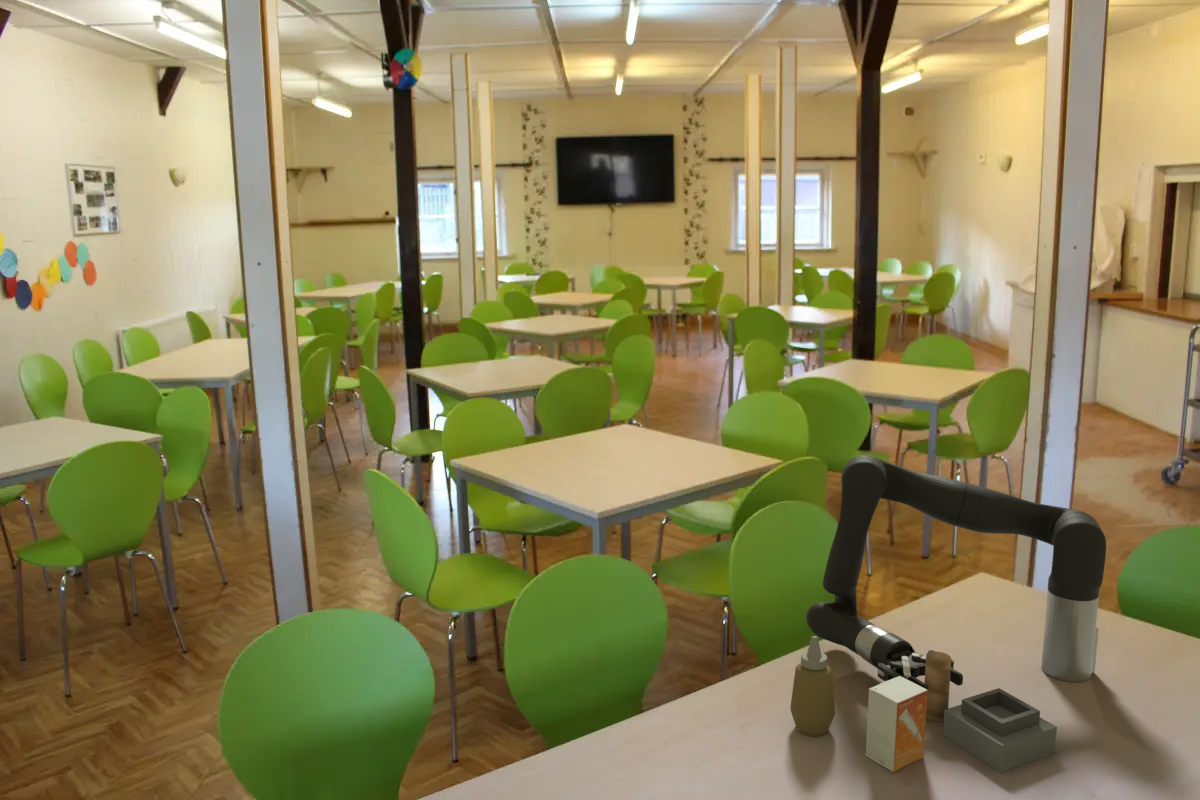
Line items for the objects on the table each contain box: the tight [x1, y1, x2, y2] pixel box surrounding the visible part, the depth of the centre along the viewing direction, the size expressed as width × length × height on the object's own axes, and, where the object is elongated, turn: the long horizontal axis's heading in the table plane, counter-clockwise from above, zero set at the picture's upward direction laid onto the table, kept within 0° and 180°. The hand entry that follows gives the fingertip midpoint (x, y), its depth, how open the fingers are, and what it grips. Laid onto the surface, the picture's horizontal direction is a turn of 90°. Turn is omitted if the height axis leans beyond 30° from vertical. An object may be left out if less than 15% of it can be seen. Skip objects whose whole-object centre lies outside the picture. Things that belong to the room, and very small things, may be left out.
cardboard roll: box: [924, 651, 952, 723], centre depth 178 cm, size 4×4×12 cm
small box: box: [865, 676, 928, 773], centre depth 165 cm, size 8×6×13 cm
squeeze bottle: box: [790, 635, 836, 737], centre depth 174 cm, size 8×8×18 cm
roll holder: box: [942, 687, 1058, 773], centre depth 169 cm, size 13×13×8 cm
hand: (944, 685), depth 176 cm, fingers open, 8 cm apart
